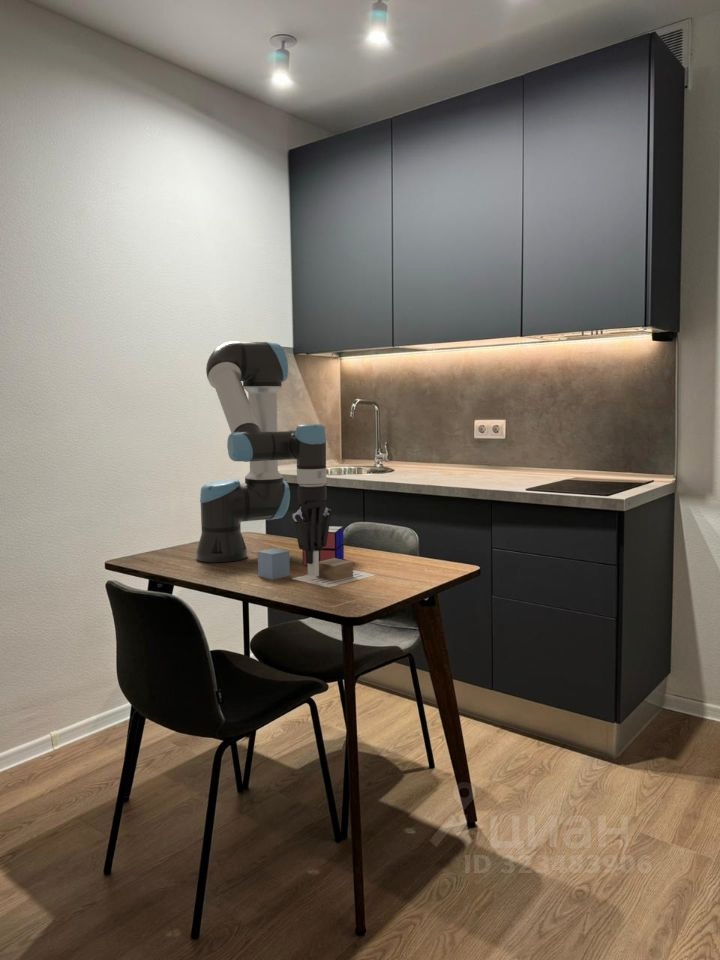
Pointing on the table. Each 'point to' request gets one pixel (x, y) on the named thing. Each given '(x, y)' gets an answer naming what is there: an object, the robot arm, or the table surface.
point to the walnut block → (335, 569)
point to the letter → (329, 583)
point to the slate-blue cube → (273, 563)
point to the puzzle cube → (331, 545)
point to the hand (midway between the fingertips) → (313, 575)
